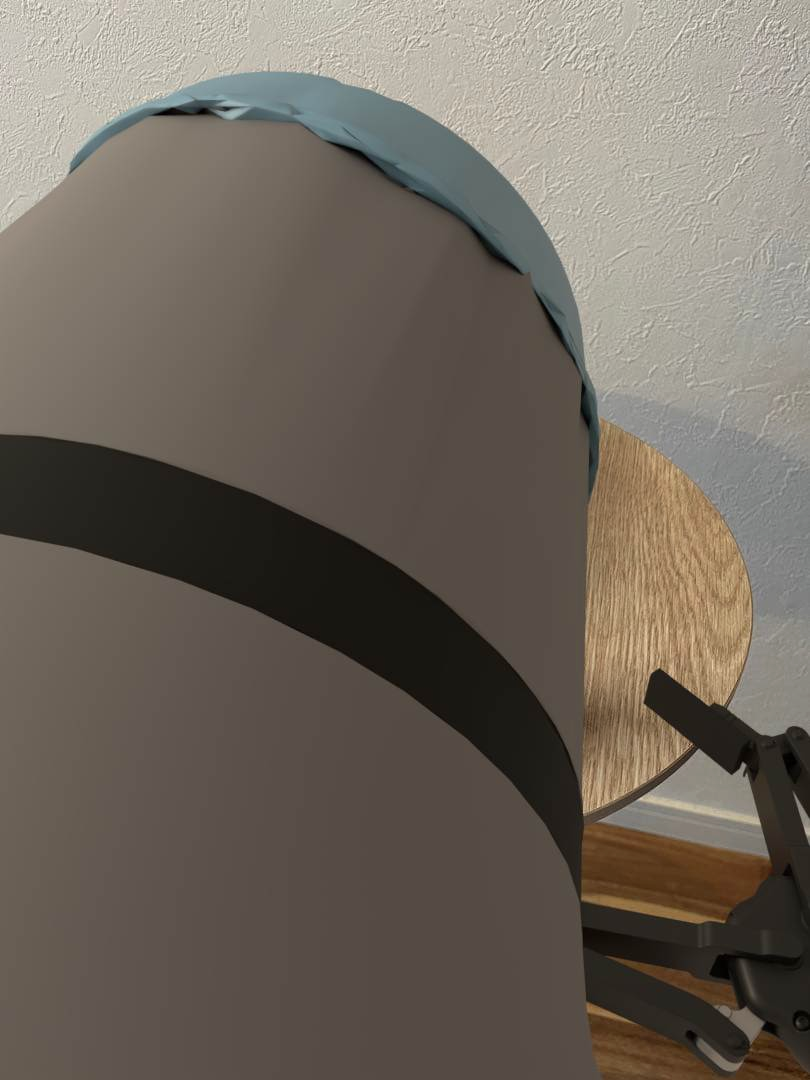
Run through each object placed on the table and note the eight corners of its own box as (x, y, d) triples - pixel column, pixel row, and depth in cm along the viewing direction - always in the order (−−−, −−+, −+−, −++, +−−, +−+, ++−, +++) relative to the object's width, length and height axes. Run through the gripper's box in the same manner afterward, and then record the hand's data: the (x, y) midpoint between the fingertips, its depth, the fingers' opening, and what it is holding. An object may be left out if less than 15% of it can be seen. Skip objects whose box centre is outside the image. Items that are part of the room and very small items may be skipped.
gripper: (719, 1306, 38) (393, 907, 51) (1027, 931, 50) (700, 680, 62) (766, 1259, 33) (392, 829, 46) (1097, 854, 45) (725, 598, 57)
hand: (569, 743), depth 54 cm, fingers open, 13 cm apart
